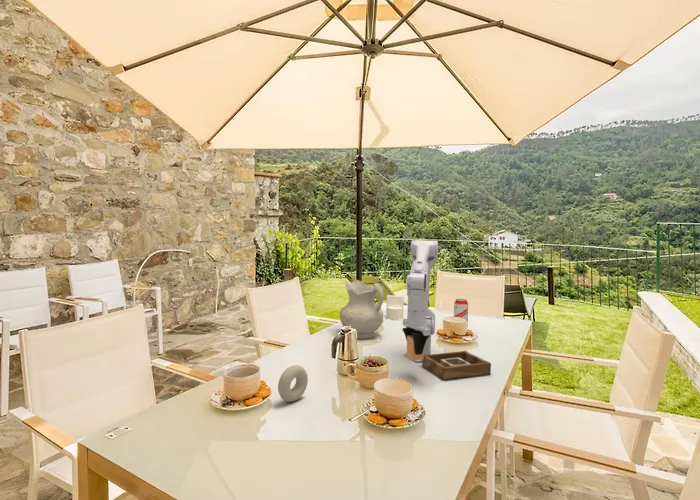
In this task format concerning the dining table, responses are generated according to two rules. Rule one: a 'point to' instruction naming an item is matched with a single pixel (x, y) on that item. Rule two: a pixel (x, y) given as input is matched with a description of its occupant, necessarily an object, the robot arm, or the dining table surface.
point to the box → (456, 365)
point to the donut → (286, 381)
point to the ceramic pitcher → (363, 309)
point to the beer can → (461, 309)
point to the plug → (412, 349)
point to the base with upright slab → (394, 307)
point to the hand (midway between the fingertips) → (415, 351)
